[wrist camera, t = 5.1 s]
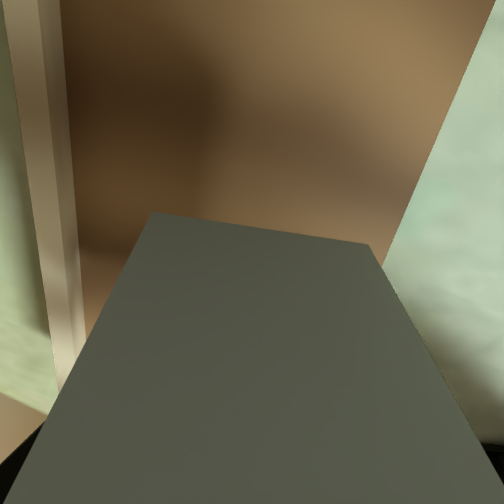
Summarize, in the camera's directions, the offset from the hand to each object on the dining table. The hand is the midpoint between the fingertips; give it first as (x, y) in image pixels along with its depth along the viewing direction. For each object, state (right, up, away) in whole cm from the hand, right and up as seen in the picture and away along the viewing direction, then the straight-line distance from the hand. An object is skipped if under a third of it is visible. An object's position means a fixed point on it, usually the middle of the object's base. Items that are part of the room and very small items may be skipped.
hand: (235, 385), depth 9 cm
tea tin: (0, +1, +1) cm, 2 cm away
